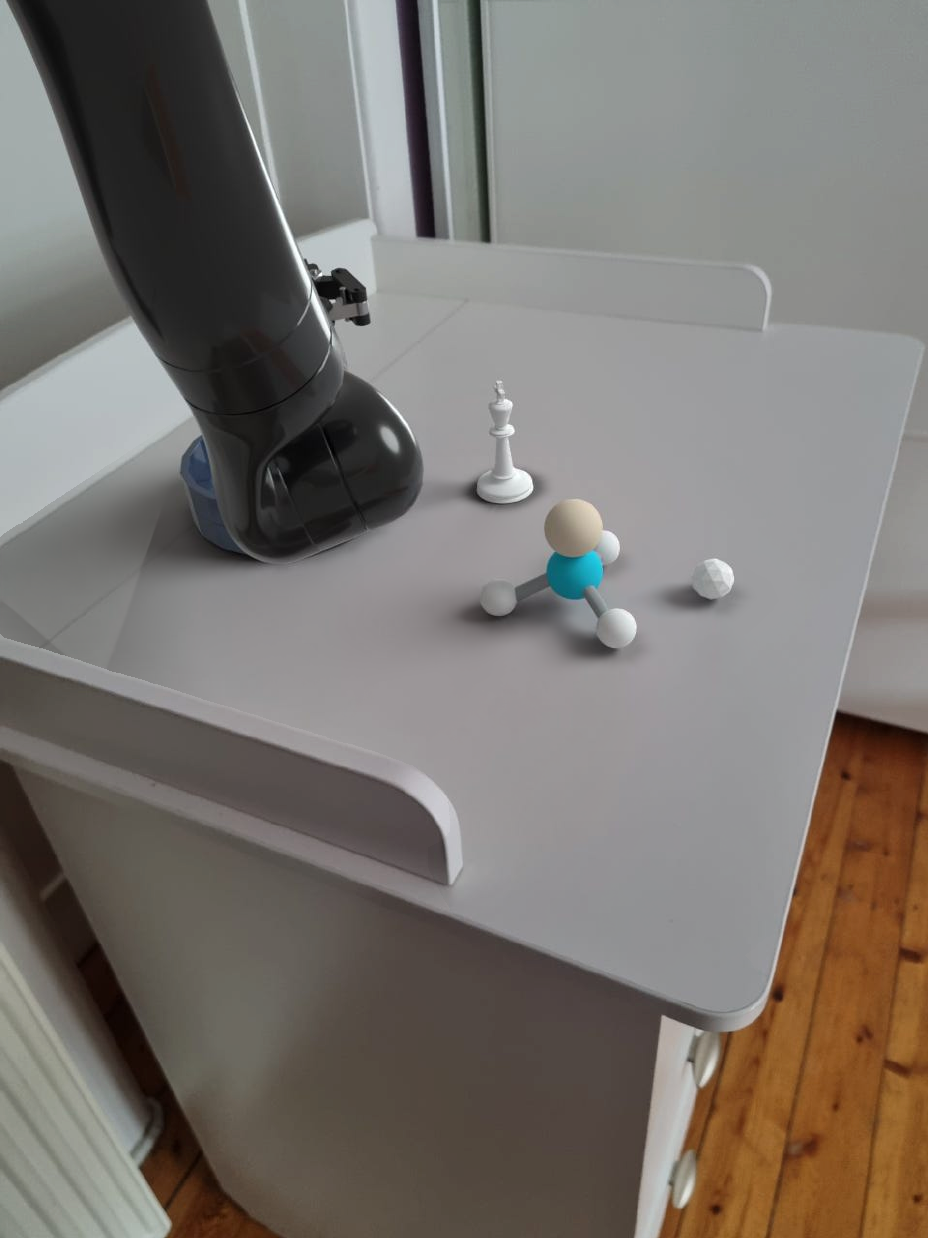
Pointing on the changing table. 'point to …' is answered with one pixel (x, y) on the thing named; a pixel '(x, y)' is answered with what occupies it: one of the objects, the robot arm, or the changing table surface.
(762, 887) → the changing table surface
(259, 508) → the robot arm
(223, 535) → the bowl
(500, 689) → the changing table surface
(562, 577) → the molecule model
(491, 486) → the chess piece
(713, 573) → the polyhedron
